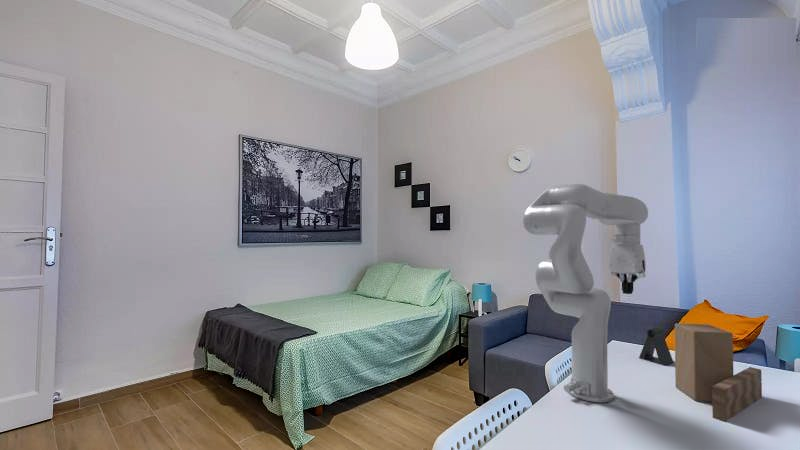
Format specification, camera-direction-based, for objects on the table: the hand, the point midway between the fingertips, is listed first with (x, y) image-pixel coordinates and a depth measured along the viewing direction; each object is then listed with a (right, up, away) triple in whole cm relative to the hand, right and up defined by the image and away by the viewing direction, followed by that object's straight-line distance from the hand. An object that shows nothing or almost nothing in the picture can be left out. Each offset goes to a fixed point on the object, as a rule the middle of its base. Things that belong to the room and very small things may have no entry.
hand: (627, 293), depth 125 cm
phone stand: (+19, -28, +13) cm, 36 cm away
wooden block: (+12, -27, -17) cm, 34 cm away
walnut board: (+16, -27, -24) cm, 39 cm away
